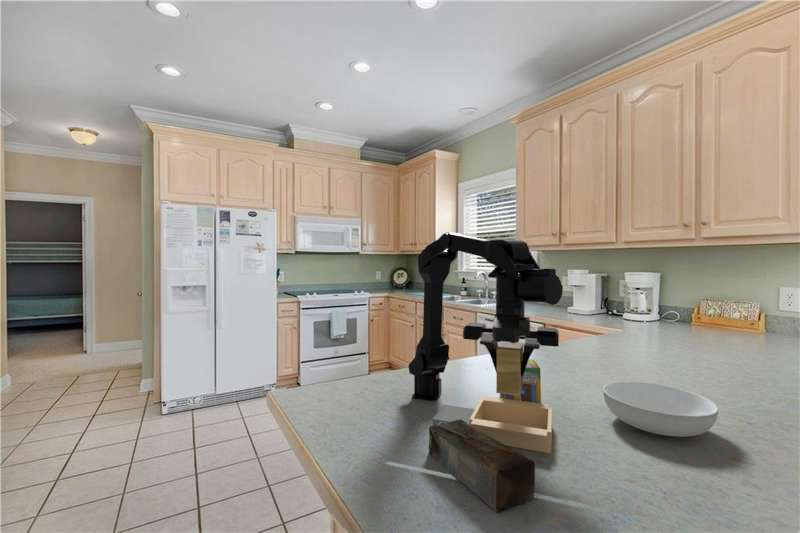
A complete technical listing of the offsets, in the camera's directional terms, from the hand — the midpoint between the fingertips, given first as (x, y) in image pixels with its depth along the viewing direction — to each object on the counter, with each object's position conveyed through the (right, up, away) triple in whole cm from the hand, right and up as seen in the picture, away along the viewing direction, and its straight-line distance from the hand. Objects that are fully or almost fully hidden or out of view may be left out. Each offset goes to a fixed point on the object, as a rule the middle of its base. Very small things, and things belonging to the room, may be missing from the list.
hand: (509, 374), depth 79 cm
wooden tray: (+1, -13, +1) cm, 13 cm away
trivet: (-10, -13, +7) cm, 18 cm away
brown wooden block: (0, -3, +1) cm, 3 cm away
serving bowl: (+34, -13, +4) cm, 36 cm away
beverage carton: (-10, -14, -14) cm, 22 cm away
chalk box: (+7, -13, +15) cm, 21 cm away
